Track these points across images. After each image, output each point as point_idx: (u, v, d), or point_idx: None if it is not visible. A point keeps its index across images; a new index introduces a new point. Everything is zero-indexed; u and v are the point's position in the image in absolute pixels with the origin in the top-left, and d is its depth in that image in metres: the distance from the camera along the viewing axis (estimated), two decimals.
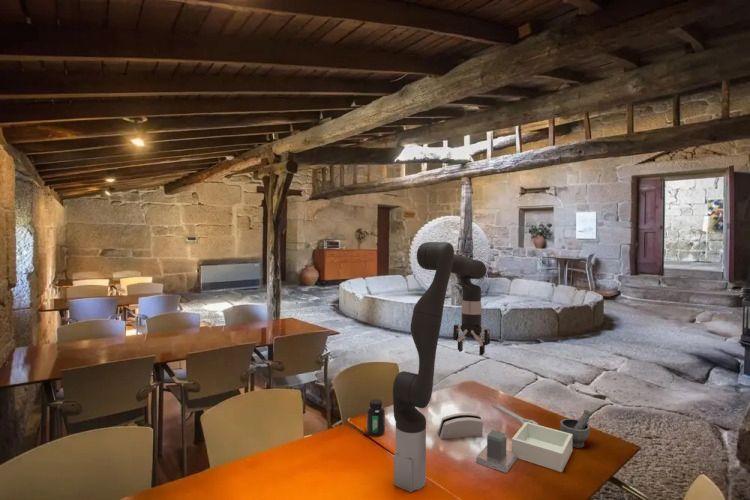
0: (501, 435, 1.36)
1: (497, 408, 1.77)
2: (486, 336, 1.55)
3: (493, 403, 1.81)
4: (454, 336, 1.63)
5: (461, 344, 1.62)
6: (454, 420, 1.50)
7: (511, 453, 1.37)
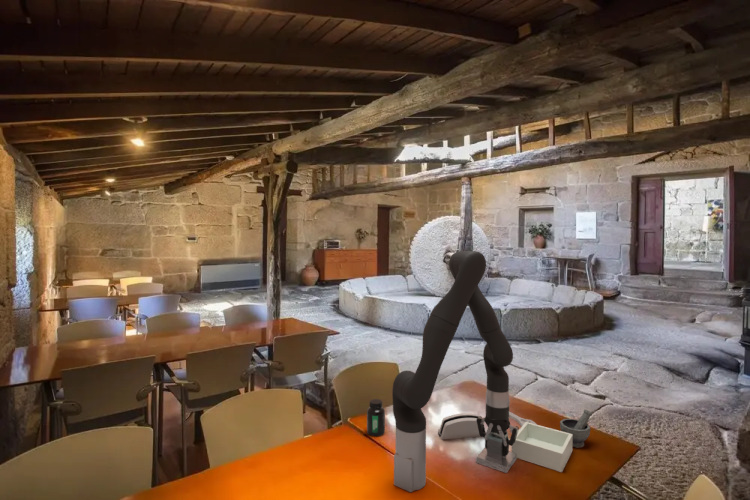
0: None
1: None
2: (513, 436, 1.32)
3: None
4: (480, 432, 1.38)
5: None
6: (455, 420, 1.50)
7: (511, 453, 1.37)
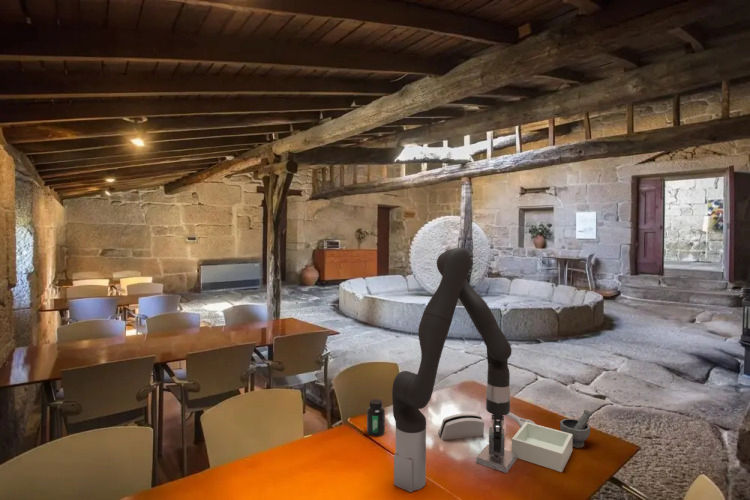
0: None
1: None
2: (493, 432, 1.31)
3: None
4: None
5: None
6: (455, 421, 1.49)
7: (511, 453, 1.37)
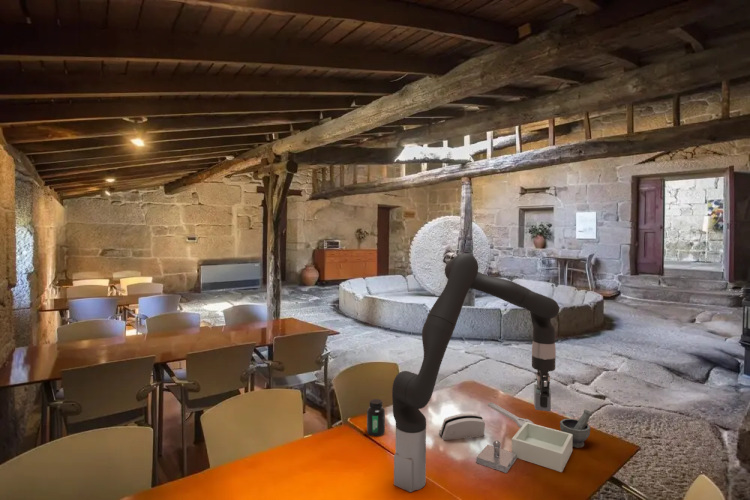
0: None
1: (493, 407, 1.78)
2: (541, 387, 1.35)
3: None
4: None
5: None
6: (456, 421, 1.49)
7: (511, 453, 1.37)
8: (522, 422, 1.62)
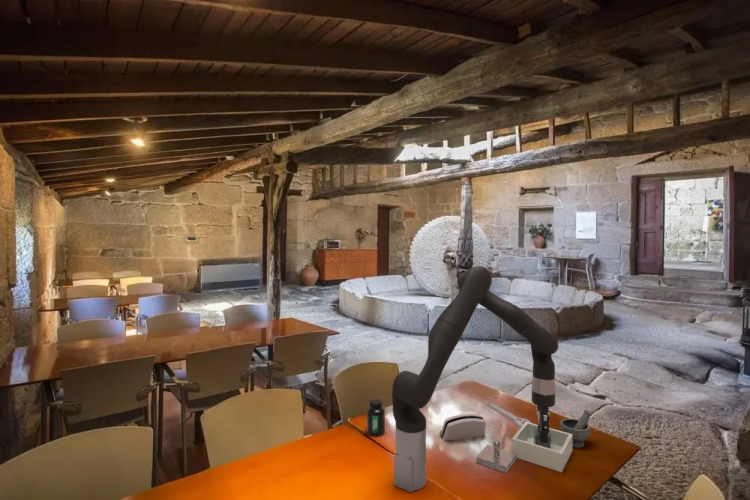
0: None
1: (491, 407, 1.78)
2: (541, 422, 1.35)
3: (487, 402, 1.82)
4: None
5: None
6: (457, 421, 1.49)
7: (511, 453, 1.37)
8: (520, 422, 1.63)
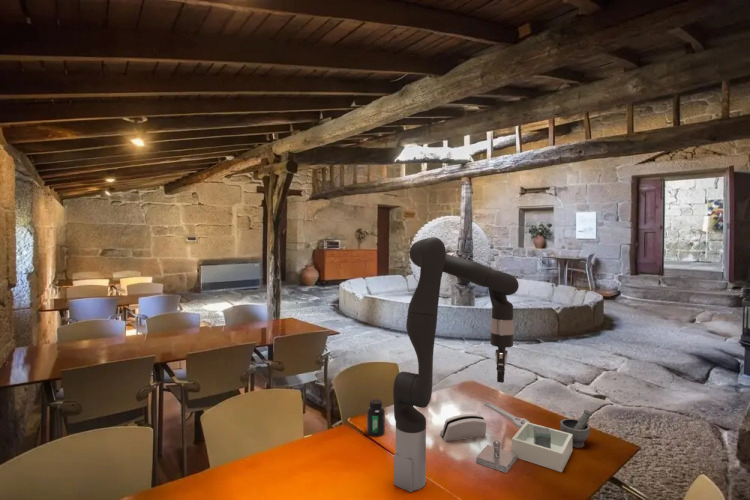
0: (543, 432, 1.40)
1: (489, 407, 1.79)
2: (497, 360, 1.36)
3: (485, 402, 1.83)
4: None
5: (501, 367, 1.46)
6: (458, 421, 1.49)
7: (511, 453, 1.37)
8: (519, 421, 1.63)
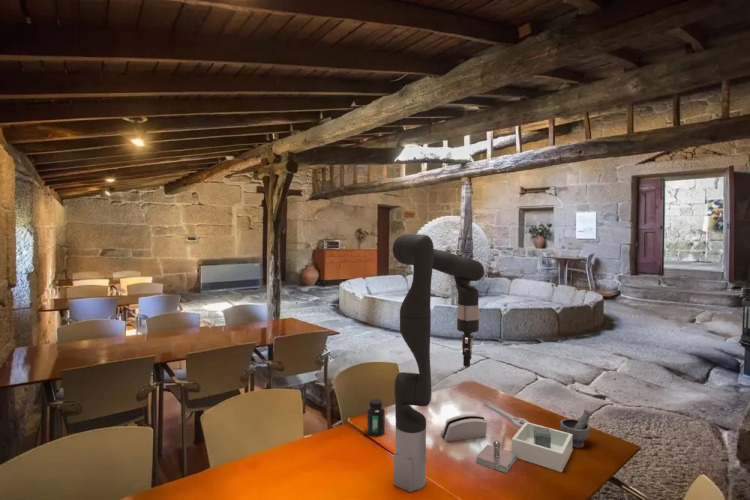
0: (543, 432, 1.40)
1: (488, 406, 1.79)
2: (463, 345, 1.39)
3: (485, 402, 1.83)
4: None
5: (467, 351, 1.49)
6: (459, 422, 1.49)
7: (511, 453, 1.37)
8: (517, 421, 1.63)
